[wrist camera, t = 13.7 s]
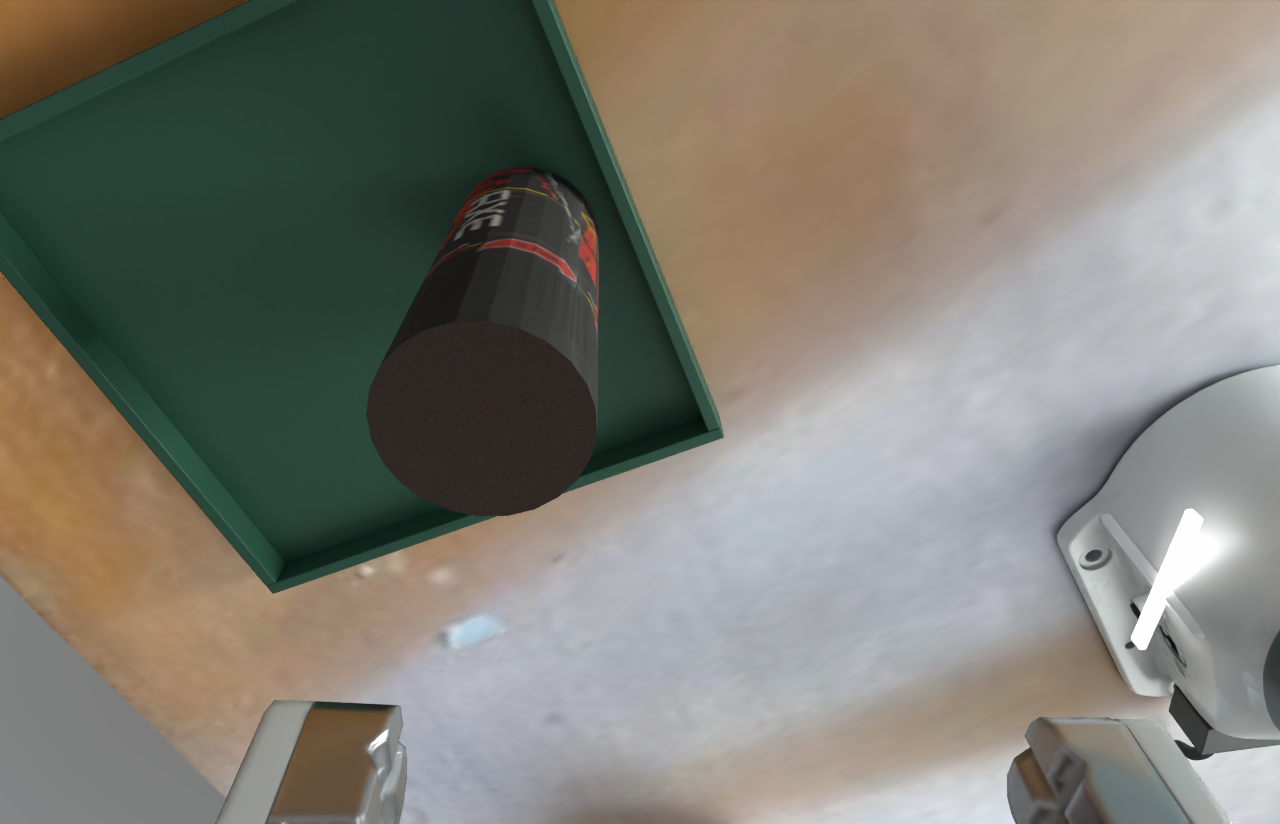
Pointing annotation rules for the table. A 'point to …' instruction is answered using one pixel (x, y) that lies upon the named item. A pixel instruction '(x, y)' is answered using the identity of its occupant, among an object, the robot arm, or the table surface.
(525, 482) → the deodorant
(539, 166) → the tray
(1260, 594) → the robot arm
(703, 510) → the table surface
